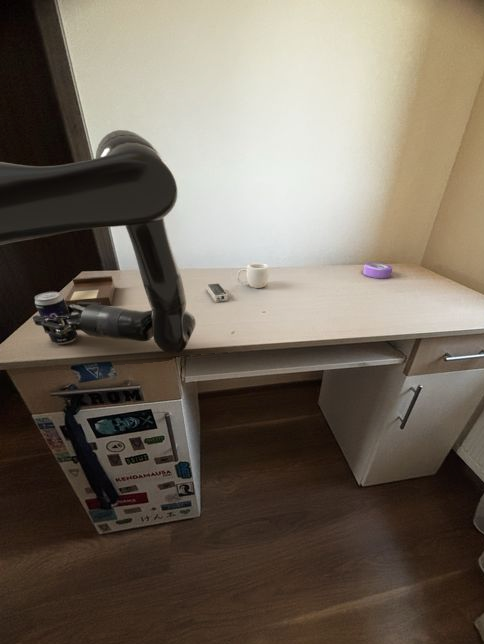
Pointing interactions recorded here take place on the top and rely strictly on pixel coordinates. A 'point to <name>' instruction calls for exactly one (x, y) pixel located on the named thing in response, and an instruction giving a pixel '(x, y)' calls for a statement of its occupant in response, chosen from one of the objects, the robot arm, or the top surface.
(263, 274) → the mug
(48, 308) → the beverage can
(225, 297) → the multiport hub
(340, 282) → the top surface
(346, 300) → the top surface
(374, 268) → the tape roll
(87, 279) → the wooden serving tray
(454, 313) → the top surface
